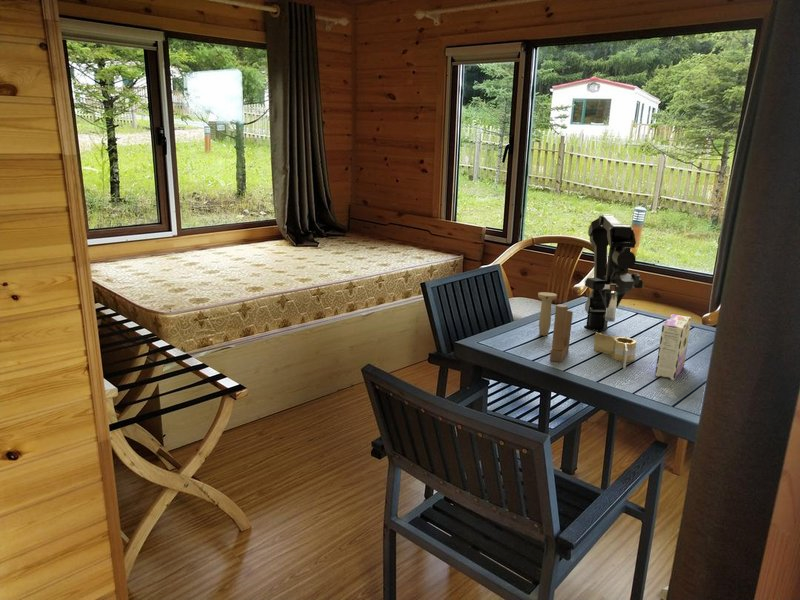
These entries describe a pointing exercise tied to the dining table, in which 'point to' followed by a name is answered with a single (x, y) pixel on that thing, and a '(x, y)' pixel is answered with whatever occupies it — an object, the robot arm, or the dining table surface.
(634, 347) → the hinge
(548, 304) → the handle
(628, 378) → the dining table surface
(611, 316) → the pin
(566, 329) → the wooden block
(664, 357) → the candy box
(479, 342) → the dining table surface
